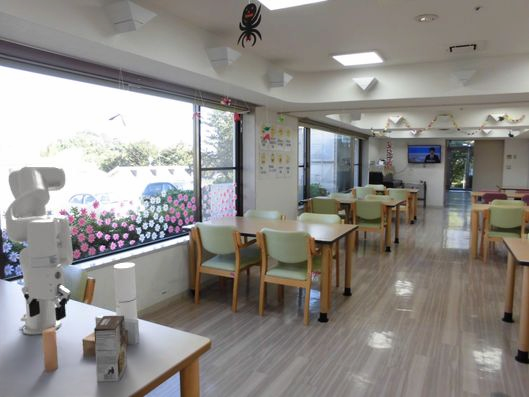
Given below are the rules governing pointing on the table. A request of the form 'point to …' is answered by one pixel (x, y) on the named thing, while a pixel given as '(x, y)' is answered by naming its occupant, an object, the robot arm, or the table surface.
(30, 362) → the table surface
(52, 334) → the peach rounded capsule
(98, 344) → the coffee box
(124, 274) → the cylindrical container
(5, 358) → the table surface
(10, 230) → the robot arm
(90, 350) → the block
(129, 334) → the backstop wall
